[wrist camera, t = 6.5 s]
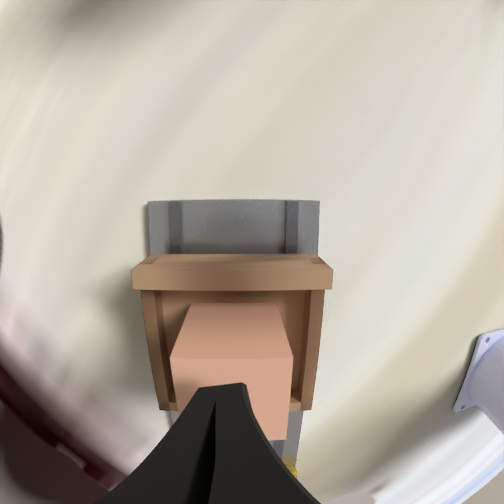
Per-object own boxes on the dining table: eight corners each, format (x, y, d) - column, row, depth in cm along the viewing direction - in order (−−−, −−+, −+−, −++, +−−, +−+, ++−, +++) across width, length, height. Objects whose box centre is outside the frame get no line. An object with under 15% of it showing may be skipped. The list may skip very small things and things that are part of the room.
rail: (317, 200, 16) (325, 202, 15) (291, 479, 21) (293, 493, 19) (150, 201, 16) (141, 202, 14) (187, 479, 21) (185, 493, 19)
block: (276, 302, 14) (292, 357, 9) (273, 372, 15) (286, 439, 10) (191, 303, 14) (169, 357, 9) (197, 373, 15) (183, 439, 10)
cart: (310, 249, 16) (333, 269, 12) (301, 378, 17) (314, 422, 14) (156, 249, 16) (130, 270, 12) (169, 378, 17) (155, 421, 13)
